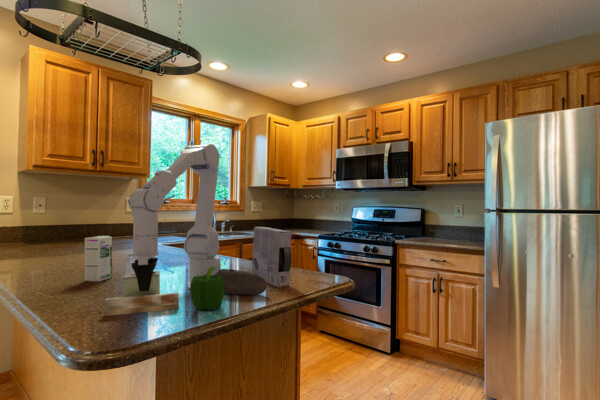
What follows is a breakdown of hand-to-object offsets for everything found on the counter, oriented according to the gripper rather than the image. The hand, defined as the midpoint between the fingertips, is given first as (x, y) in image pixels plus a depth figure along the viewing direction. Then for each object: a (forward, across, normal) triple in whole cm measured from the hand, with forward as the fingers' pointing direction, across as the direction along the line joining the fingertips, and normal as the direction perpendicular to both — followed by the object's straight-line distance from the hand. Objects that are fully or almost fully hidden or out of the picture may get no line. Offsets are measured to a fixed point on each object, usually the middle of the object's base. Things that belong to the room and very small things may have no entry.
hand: (145, 288), depth 86 cm
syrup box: (+4, -36, -17) cm, 40 cm away
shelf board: (+4, +1, 0) cm, 4 cm away
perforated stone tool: (+4, -1, +25) cm, 26 cm away
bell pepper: (+4, +8, +15) cm, 18 cm away
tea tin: (+2, 0, 0) cm, 2 cm away
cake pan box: (+4, -14, +37) cm, 40 cm away
